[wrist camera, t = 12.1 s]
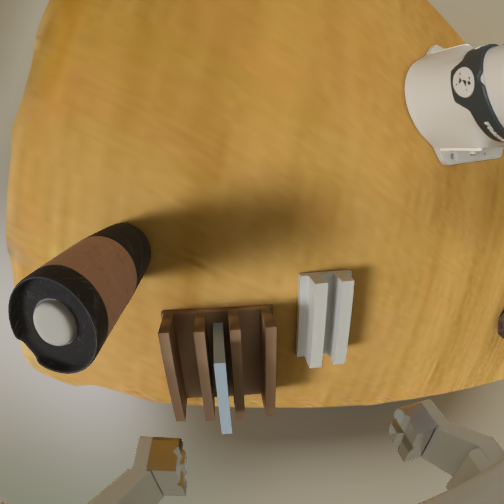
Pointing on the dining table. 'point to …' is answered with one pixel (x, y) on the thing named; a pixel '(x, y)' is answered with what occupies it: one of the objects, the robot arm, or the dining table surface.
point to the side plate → (221, 377)
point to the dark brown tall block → (501, 326)
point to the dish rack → (236, 354)
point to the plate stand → (324, 315)
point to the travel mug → (79, 297)
